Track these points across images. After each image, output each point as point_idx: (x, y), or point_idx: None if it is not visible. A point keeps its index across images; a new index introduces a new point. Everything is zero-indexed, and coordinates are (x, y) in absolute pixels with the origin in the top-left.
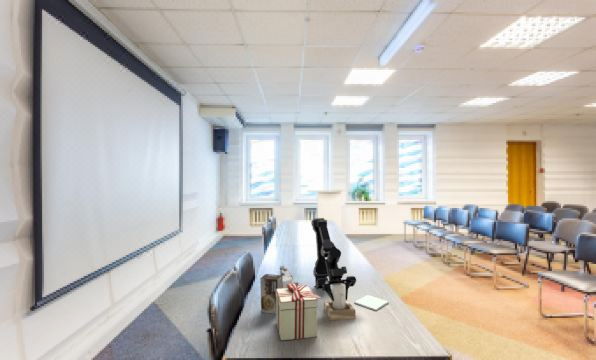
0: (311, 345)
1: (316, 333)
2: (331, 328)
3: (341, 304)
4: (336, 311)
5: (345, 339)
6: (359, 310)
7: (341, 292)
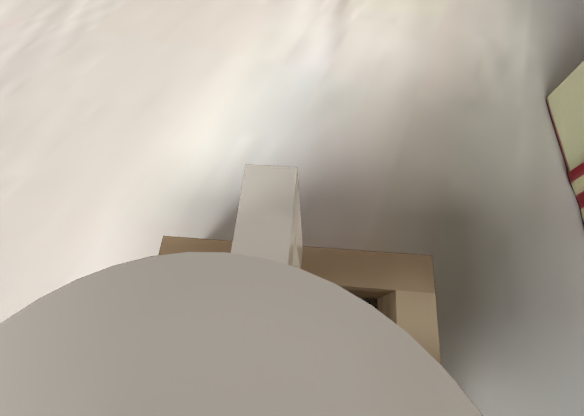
0: (578, 38)
1: (561, 83)
2: (428, 162)
3: (302, 242)
4: (362, 260)
5: (375, 49)
6: None
7: (255, 250)
